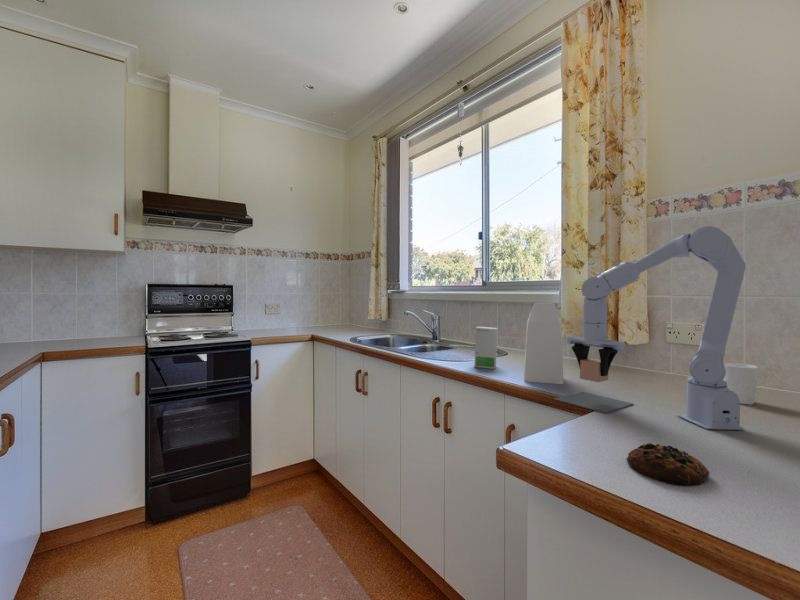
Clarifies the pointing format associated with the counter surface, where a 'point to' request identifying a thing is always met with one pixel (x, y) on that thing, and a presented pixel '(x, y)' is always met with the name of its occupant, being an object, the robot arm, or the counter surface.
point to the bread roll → (667, 465)
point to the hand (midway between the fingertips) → (593, 373)
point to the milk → (543, 345)
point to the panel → (594, 402)
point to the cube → (591, 370)
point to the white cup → (742, 381)
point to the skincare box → (486, 347)
